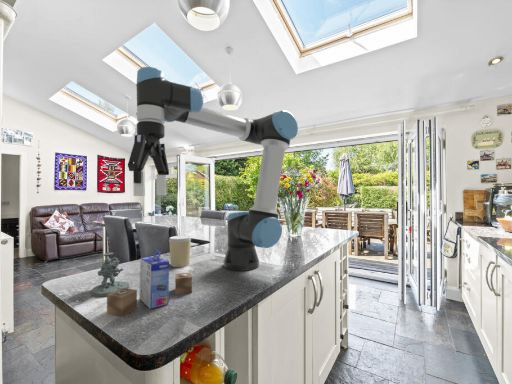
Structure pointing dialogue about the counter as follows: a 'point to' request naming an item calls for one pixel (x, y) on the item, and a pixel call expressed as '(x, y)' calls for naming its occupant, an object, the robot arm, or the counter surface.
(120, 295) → the walnut cube
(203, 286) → the counter surface
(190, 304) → the counter surface
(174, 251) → the coffee cup
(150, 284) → the ink cartridge box
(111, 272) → the figurine
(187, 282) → the walnut cube
